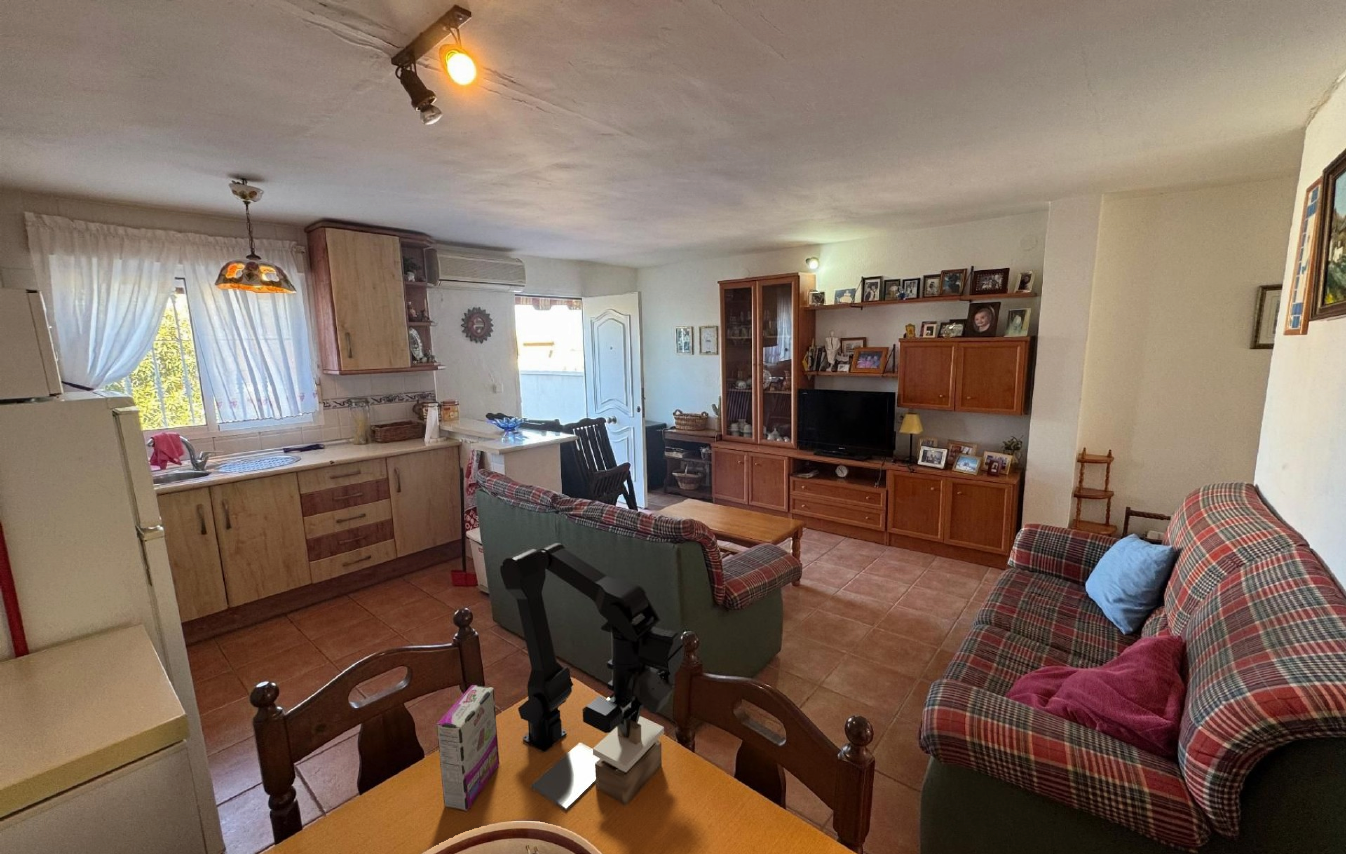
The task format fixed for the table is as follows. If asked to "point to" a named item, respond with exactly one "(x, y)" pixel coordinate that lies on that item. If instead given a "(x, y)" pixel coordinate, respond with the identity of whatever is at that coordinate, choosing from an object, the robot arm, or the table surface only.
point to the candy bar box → (468, 746)
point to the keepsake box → (628, 775)
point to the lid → (628, 744)
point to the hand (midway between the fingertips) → (629, 734)
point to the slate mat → (568, 777)
